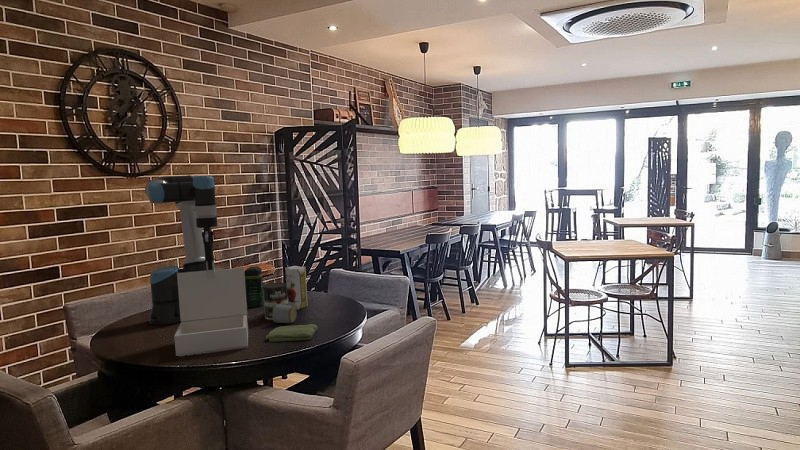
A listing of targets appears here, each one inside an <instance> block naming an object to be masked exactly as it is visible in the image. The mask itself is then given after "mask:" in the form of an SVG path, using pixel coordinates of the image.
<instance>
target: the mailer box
mask: <svg viewBox="0 0 800 450" xmlns="http://www.w3.org/2000/svg"><path fill="white" fill-rule="evenodd" d="M179 323H180V324H179V326H178V328H177V330H176V332H175V334H174V336H173V338H174V347H175V357H176V356H179V357H185V355H187V356H192V355H193V356H194V354H195V355H202V353H203V354H210V353H218V352H224V351H226V352H227V351H235V350H241V349H243V350H244V349H248V347H249V325H248V314H245V315H236V316H226V317H217V318H208V319H199V320H190V321H181V322H179Z"/></svg>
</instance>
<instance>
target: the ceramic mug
mask: <svg viewBox="0 0 800 450" xmlns="http://www.w3.org/2000/svg"><path fill="white" fill-rule="evenodd" d="M297 316H298V315H297V309H296V308H295V307H293V306H288V305H280V304H277V305H275V307H274V308H273V313H272V318H273V320H272V321H273V322H274V323H277V324H292V323H294V322H295V321H296V319H297Z"/></svg>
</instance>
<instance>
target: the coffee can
mask: <svg viewBox="0 0 800 450" xmlns="http://www.w3.org/2000/svg"><path fill="white" fill-rule="evenodd" d="M263 298H264V303H263V306H264V307H263V308H264V319H266V320H268V321H273V318H272V313H273V308H274V307H275V305H277V304H280V305H288V297H287V284H286V283H285V282H271V283H270V282H269V283H266V284H264V285H263Z"/></svg>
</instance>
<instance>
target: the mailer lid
mask: <svg viewBox="0 0 800 450" xmlns="http://www.w3.org/2000/svg"><path fill="white" fill-rule="evenodd" d="M244 271H245V267H235V268H234V267H233V268H223V269H215V278H207V271H197V272H186V273H177V280H178V293H179V307H180V320H181V322H186V321H195V320H204V319H213V318H222V317H231V316H240V315H248V307H247V302H246V288H245V274H244Z"/></svg>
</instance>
